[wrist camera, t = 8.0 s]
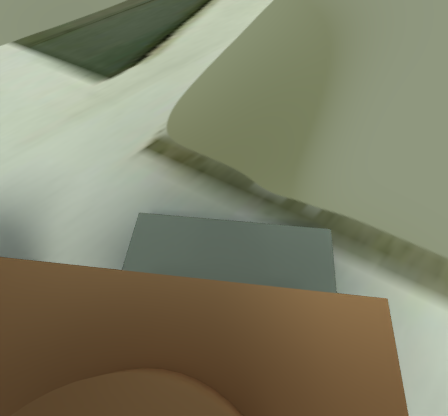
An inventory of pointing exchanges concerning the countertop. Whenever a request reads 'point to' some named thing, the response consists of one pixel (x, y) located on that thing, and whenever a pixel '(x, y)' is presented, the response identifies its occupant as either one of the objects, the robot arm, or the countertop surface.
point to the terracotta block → (188, 347)
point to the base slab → (233, 252)
